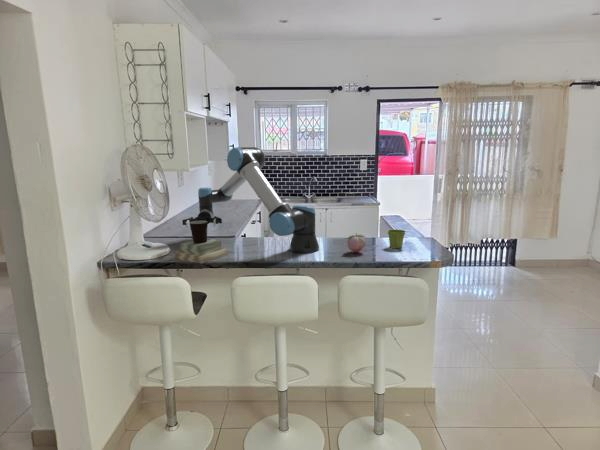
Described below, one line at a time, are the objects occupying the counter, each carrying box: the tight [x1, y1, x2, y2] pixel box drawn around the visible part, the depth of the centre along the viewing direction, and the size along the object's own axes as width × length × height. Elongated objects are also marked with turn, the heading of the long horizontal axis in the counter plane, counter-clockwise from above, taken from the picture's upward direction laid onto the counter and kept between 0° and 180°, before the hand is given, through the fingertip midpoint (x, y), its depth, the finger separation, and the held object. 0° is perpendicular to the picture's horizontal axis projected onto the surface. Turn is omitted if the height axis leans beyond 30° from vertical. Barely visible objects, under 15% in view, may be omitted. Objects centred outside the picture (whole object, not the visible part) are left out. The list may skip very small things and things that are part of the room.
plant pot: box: [387, 228, 407, 249], centre depth 204 cm, size 9×9×9 cm
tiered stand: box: [174, 238, 229, 265], centre depth 193 cm, size 18×18×8 cm
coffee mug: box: [189, 221, 209, 244], centre depth 190 cm, size 12×9×10 cm
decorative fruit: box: [346, 233, 367, 254], centre depth 195 cm, size 9×8×10 cm
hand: (200, 224), depth 198 cm, fingers open, 13 cm apart
